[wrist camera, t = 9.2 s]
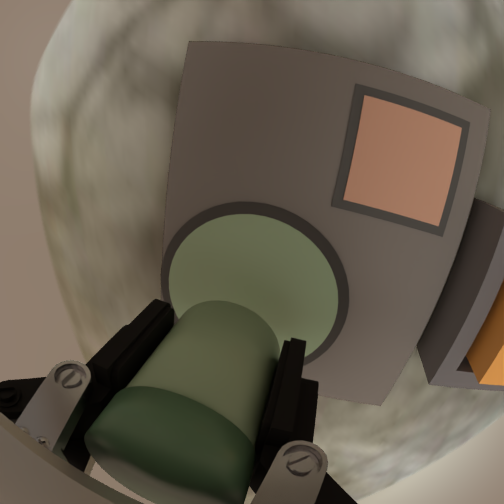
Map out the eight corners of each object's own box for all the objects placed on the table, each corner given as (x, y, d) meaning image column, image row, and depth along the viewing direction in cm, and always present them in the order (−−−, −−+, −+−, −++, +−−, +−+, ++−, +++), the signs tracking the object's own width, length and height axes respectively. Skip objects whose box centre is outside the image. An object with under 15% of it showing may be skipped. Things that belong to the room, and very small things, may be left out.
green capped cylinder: (176, 284, 11) (66, 400, 5) (295, 315, 10) (257, 478, 5) (173, 369, 12) (102, 478, 7) (270, 398, 12) (231, 528, 6)
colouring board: (196, 45, 11) (187, 40, 10) (482, 110, 9) (493, 109, 9) (166, 342, 18) (159, 352, 17) (379, 396, 16) (380, 408, 15)
